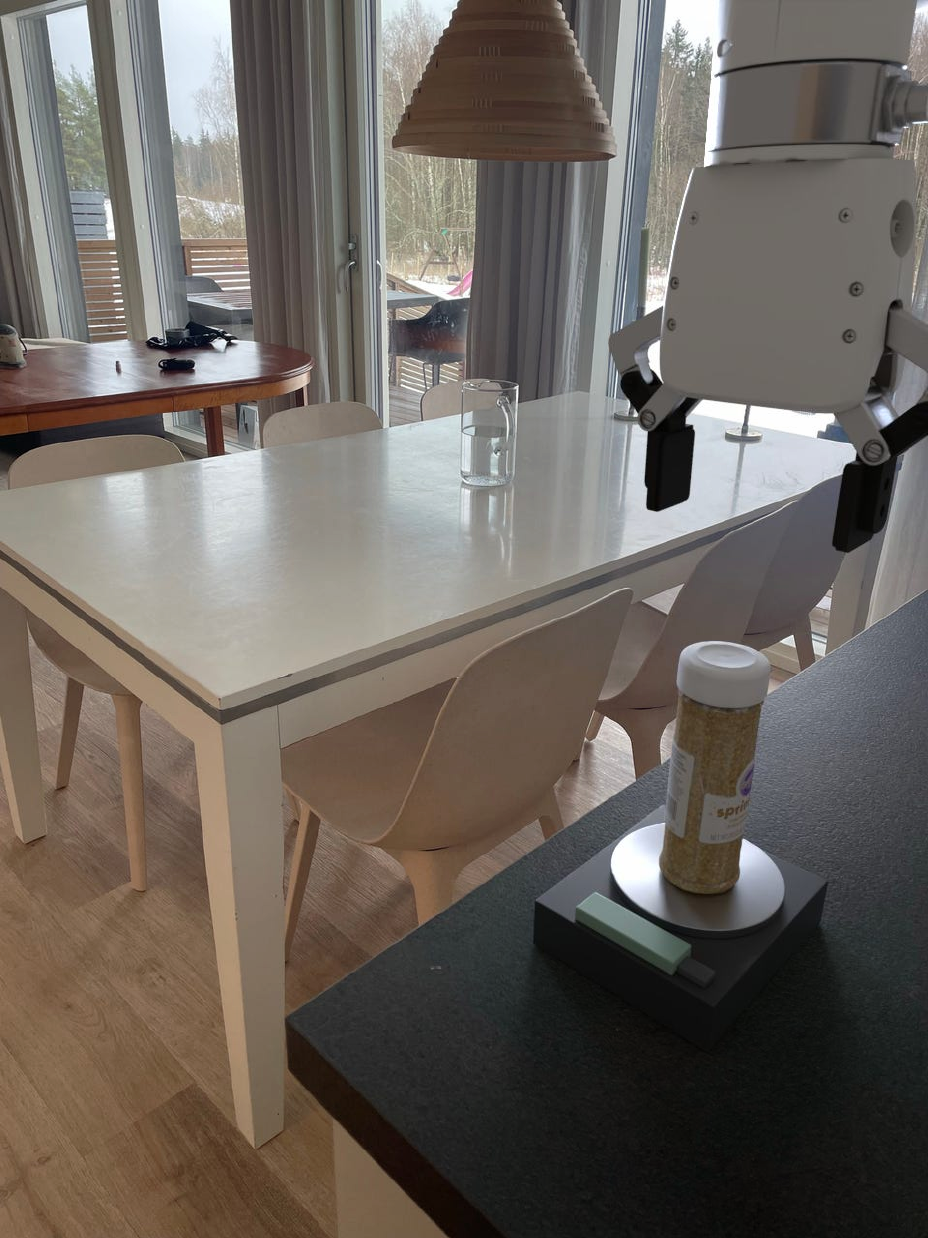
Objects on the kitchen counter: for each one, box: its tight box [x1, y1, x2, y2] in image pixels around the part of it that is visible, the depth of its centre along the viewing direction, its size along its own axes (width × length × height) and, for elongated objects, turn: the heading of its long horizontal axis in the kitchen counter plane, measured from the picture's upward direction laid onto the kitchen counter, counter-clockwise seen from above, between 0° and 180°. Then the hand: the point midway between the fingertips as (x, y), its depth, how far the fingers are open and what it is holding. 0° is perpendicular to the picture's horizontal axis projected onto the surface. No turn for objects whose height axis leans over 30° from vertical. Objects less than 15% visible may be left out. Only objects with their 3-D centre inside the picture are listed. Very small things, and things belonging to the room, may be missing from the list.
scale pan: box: [610, 823, 785, 939], centre depth 53 cm, size 10×10×1 cm
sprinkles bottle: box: [659, 640, 772, 894], centre depth 50 cm, size 5×5×13 cm
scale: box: [532, 804, 829, 1053], centre depth 52 cm, size 13×11×4 cm
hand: (754, 523), depth 45 cm, fingers open, 9 cm apart
